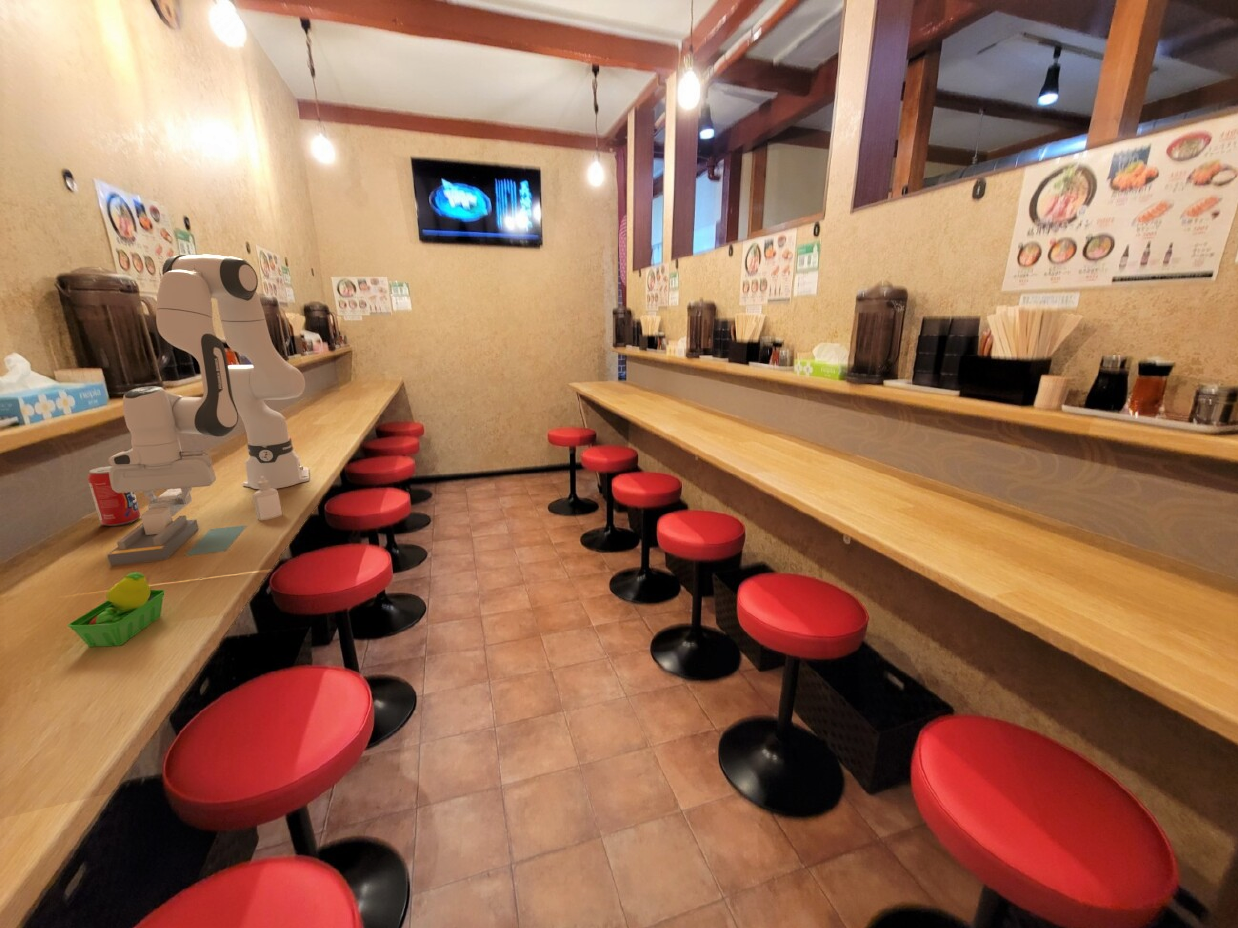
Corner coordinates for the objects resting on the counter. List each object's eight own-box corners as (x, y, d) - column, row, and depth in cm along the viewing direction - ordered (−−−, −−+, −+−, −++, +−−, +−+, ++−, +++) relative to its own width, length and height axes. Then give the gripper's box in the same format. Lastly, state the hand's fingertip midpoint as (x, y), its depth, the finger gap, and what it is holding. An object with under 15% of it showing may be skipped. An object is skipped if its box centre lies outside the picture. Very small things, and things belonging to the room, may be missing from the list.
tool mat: (211, 529, 131) (210, 528, 131) (247, 526, 134) (247, 525, 134) (184, 556, 117) (184, 555, 117) (225, 552, 119) (225, 551, 119)
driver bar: (173, 502, 134) (170, 488, 133) (191, 501, 135) (188, 487, 134) (151, 519, 123) (147, 504, 122) (171, 517, 124) (167, 502, 123)
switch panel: (150, 534, 128) (146, 516, 126) (198, 529, 131) (194, 512, 130) (110, 567, 112) (104, 546, 110) (166, 560, 115) (161, 540, 113)
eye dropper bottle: (280, 519, 139) (272, 478, 135) (256, 522, 137) (247, 480, 133) (283, 513, 143) (276, 473, 139) (260, 516, 141) (252, 475, 137)
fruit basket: (129, 613, 95) (114, 560, 92) (180, 612, 96) (166, 558, 93) (73, 652, 84) (53, 593, 81) (130, 650, 85) (113, 591, 82)
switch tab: (154, 528, 124) (148, 508, 122) (174, 526, 125) (169, 507, 124) (145, 534, 120) (140, 514, 119) (166, 532, 122) (161, 512, 120)
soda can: (92, 526, 132) (76, 472, 127) (124, 515, 139) (110, 463, 135) (118, 528, 131) (103, 474, 126) (149, 517, 138) (135, 465, 134)
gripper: (213, 447, 131) (224, 496, 135) (114, 452, 124) (128, 504, 128) (204, 453, 126) (215, 504, 129) (99, 459, 119) (114, 513, 123)
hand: (171, 504), depth 129 cm, fingers closed on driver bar, 4 cm apart
